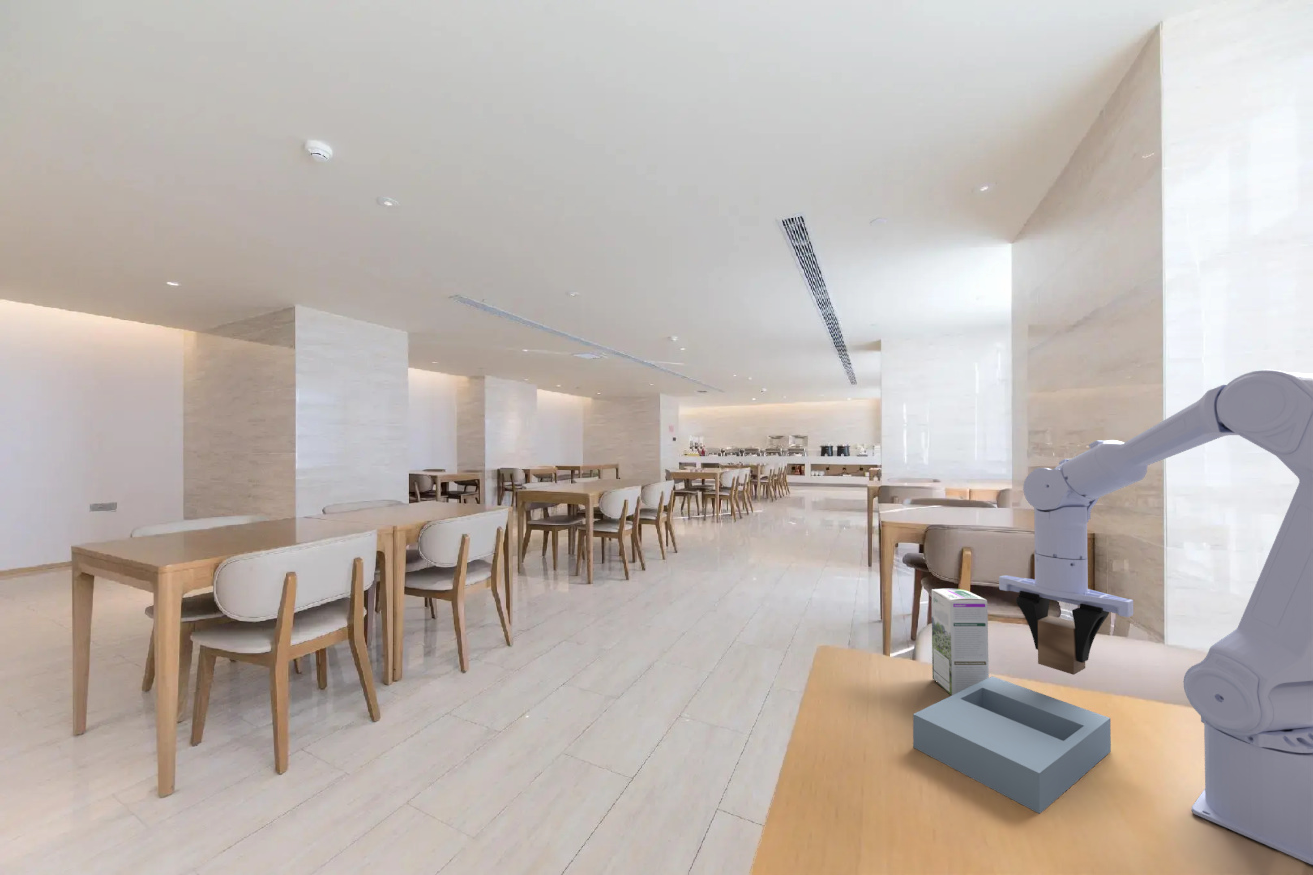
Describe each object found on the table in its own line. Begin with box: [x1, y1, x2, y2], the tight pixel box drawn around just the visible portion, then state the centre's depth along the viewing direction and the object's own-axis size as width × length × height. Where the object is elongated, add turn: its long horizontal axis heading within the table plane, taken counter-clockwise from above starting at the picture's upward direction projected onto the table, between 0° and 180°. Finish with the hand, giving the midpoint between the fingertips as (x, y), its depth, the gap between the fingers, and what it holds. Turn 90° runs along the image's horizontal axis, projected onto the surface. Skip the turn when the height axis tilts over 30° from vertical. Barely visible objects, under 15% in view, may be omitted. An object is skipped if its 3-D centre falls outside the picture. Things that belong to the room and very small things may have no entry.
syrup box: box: [931, 588, 990, 696], centre depth 76 cm, size 6×6×14 cm
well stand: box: [912, 676, 1112, 814], centre depth 60 cm, size 13×20×4 cm, turn 122°
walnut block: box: [1037, 615, 1086, 675], centre depth 69 cm, size 4×4×6 cm
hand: (1061, 654), depth 69 cm, fingers closed on walnut block, 4 cm apart
